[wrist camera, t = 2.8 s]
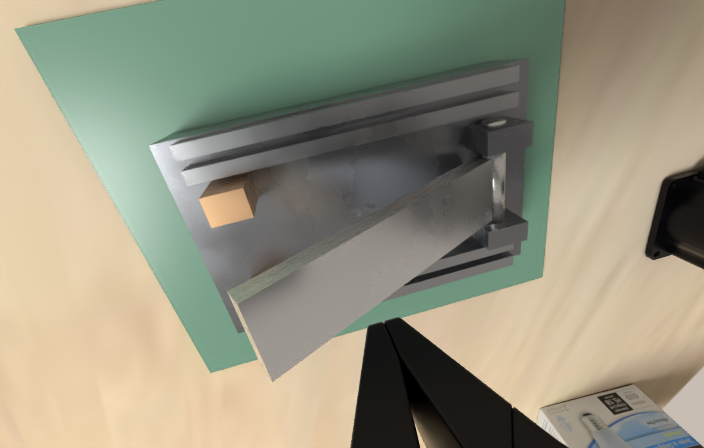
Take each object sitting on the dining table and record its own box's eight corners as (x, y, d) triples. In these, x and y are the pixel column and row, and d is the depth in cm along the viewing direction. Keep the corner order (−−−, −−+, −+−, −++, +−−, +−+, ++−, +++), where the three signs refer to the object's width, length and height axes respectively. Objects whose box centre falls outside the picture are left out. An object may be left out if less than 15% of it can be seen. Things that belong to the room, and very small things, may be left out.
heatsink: (490, 231, 21) (549, 275, 16) (244, 298, 20) (231, 367, 15) (489, 61, 17) (569, 55, 12) (172, 133, 15) (122, 158, 11)
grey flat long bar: (477, 216, 16) (492, 219, 15) (261, 366, 10) (272, 381, 10) (475, 157, 15) (492, 158, 14) (226, 291, 9) (236, 304, 8)
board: (538, 274, 24) (542, 277, 23) (211, 368, 22) (210, 372, 22) (565, -76, 15) (572, -80, 15) (21, 30, 13) (14, 29, 13)
